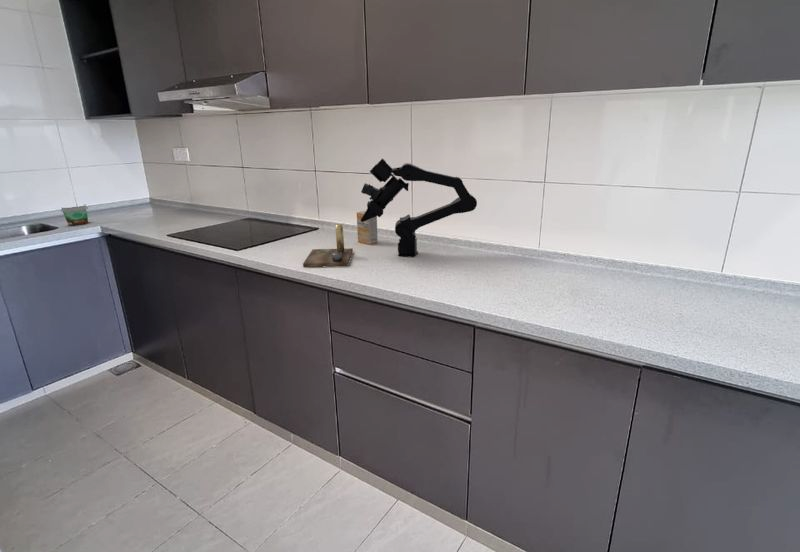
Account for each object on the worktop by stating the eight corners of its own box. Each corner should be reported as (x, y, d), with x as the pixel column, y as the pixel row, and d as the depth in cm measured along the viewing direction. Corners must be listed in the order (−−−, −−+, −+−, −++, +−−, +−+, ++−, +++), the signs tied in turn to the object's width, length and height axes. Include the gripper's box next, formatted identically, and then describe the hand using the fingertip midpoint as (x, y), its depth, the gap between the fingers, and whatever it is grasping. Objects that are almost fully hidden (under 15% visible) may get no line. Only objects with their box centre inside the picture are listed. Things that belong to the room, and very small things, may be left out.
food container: (70, 227, 233) (65, 208, 230) (65, 226, 236) (60, 207, 233) (95, 222, 243) (91, 204, 240) (90, 221, 246) (85, 204, 243)
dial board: (352, 252, 175) (352, 247, 174) (347, 266, 157) (347, 262, 156) (312, 252, 175) (312, 248, 174) (303, 267, 157) (302, 263, 156)
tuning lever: (346, 248, 173) (344, 222, 169) (341, 261, 157) (339, 232, 153) (337, 248, 173) (335, 222, 169) (331, 261, 157) (329, 232, 153)
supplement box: (357, 242, 189) (355, 212, 185) (365, 240, 193) (364, 210, 188) (369, 245, 184) (368, 214, 180) (378, 243, 187) (377, 212, 183)
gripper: (374, 173, 168) (347, 202, 172) (372, 178, 151) (342, 211, 154) (395, 193, 171) (368, 221, 175) (395, 201, 153) (365, 232, 157)
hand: (361, 221), depth 165 cm, fingers closed
